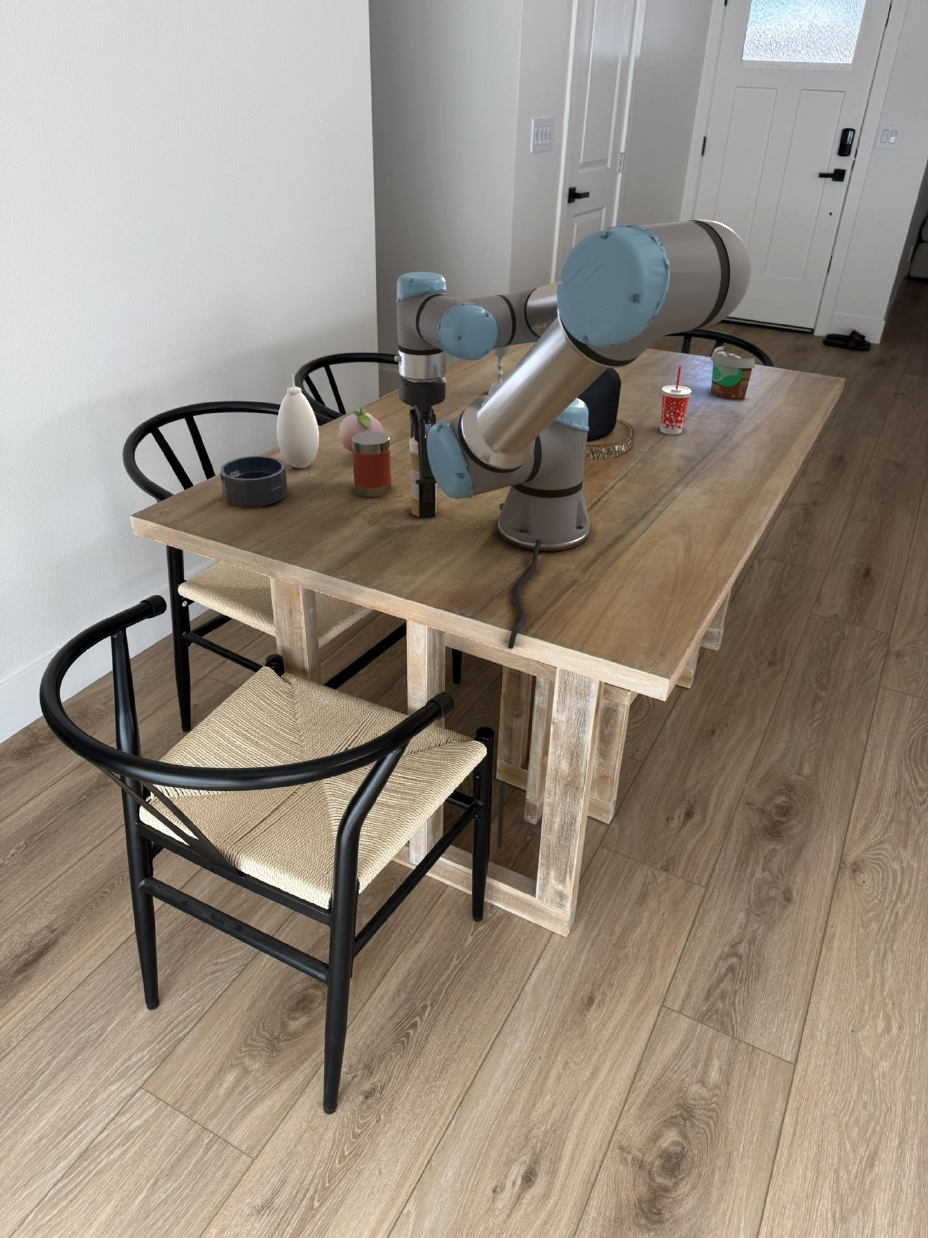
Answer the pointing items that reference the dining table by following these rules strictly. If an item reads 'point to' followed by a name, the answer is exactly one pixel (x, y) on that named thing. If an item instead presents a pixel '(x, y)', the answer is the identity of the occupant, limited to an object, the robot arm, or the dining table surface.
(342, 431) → the decorative fruit
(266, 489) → the bowl
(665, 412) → the beverage cup
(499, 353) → the chalice
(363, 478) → the tin can
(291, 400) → the sauce bottle
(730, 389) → the food container
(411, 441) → the sprinkles bottle
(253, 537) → the dining table surface
